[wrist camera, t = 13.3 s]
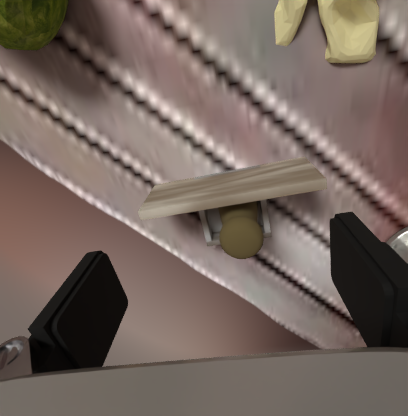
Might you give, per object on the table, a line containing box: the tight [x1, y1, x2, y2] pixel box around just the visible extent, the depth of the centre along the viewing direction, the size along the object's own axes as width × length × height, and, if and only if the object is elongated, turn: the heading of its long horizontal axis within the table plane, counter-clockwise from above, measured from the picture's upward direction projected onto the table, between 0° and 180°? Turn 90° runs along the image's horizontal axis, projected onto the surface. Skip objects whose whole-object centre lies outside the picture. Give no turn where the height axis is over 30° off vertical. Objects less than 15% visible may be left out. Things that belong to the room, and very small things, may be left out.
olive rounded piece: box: [218, 201, 264, 259], centre depth 35 cm, size 6×6×11 cm
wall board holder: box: [138, 157, 327, 246], centre depth 37 cm, size 10×22×9 cm, turn 103°
